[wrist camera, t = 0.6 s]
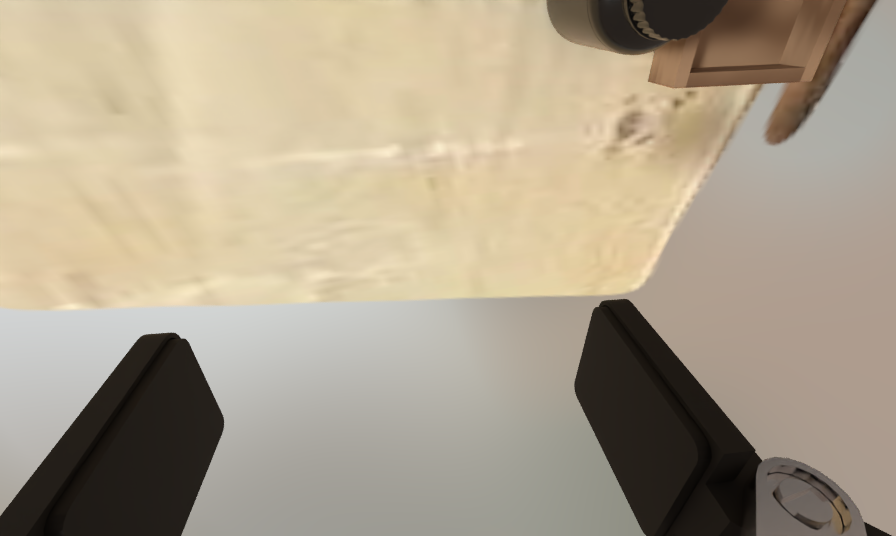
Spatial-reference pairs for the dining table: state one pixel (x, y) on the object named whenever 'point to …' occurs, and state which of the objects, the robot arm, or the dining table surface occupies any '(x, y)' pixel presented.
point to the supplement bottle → (631, 22)
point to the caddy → (751, 45)
